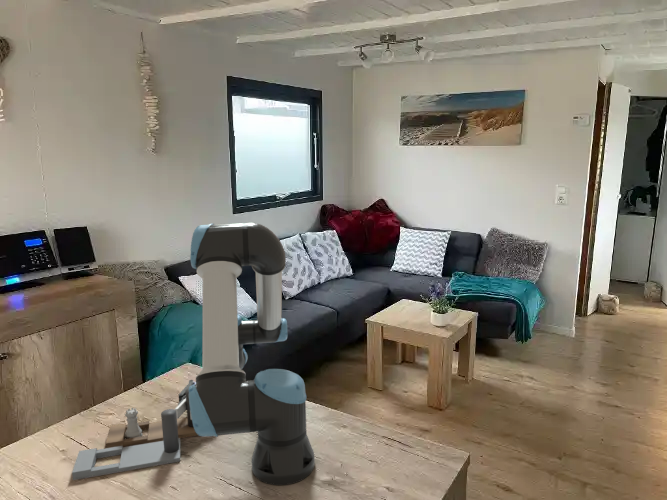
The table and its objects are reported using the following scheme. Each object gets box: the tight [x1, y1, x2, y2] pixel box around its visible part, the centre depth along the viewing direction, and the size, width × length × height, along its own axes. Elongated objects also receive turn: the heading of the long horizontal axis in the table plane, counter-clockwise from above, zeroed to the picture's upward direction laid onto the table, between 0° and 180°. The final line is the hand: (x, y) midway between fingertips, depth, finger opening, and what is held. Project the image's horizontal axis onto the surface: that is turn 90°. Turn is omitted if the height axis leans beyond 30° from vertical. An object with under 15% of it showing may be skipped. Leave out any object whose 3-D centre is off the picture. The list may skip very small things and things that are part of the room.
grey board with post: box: [71, 408, 181, 481], centre depth 125 cm, size 9×24×11 cm, turn 106°
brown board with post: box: [105, 388, 199, 448], centre depth 136 cm, size 9×24×11 cm, turn 106°
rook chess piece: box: [124, 407, 144, 439], centre depth 135 cm, size 4×4×8 cm
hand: (184, 414), depth 134 cm, fingers closed on brown board with post, 4 cm apart
